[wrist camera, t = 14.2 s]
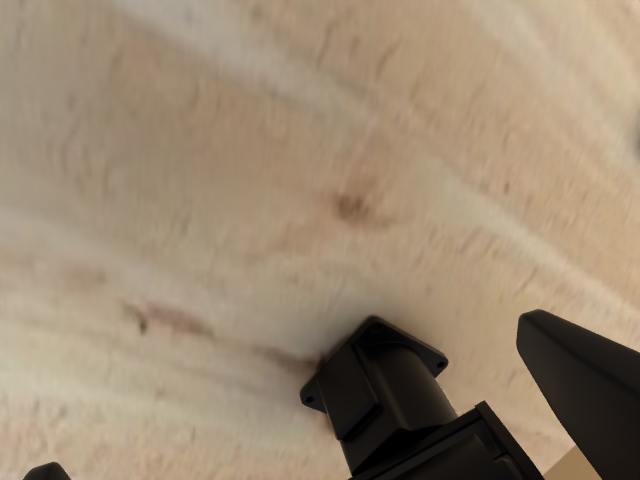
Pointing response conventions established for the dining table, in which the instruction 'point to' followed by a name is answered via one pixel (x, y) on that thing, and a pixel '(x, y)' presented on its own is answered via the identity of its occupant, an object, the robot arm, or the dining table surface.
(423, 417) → the robot arm
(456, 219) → the dining table surface
